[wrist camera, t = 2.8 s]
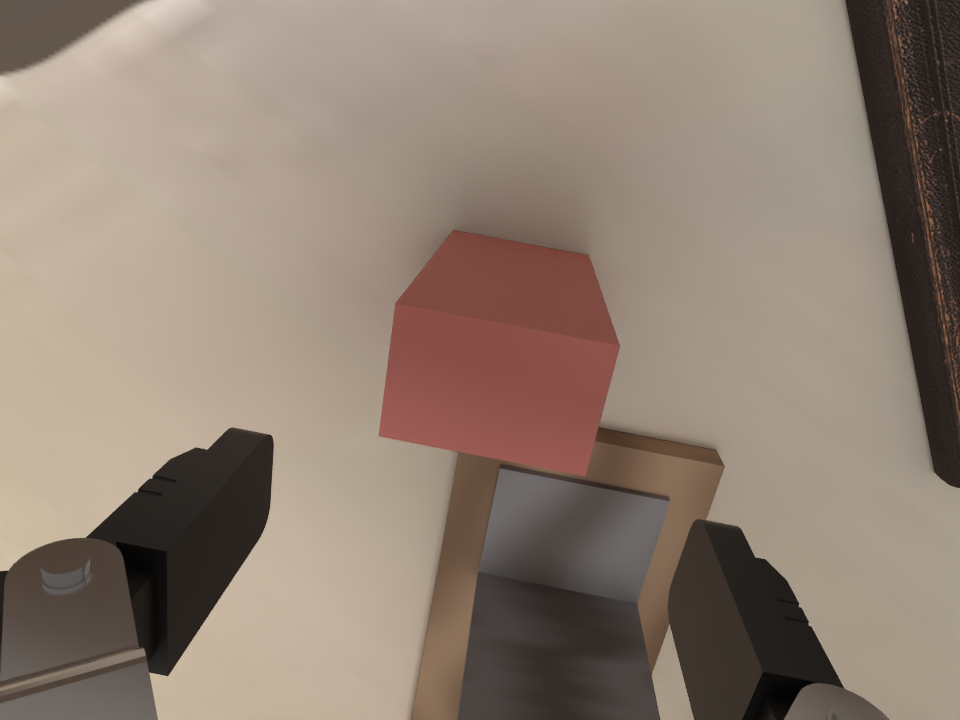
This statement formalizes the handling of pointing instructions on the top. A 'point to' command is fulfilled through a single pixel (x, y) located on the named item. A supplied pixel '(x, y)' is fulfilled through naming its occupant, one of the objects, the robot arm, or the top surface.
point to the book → (501, 354)
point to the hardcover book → (920, 188)
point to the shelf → (560, 582)
